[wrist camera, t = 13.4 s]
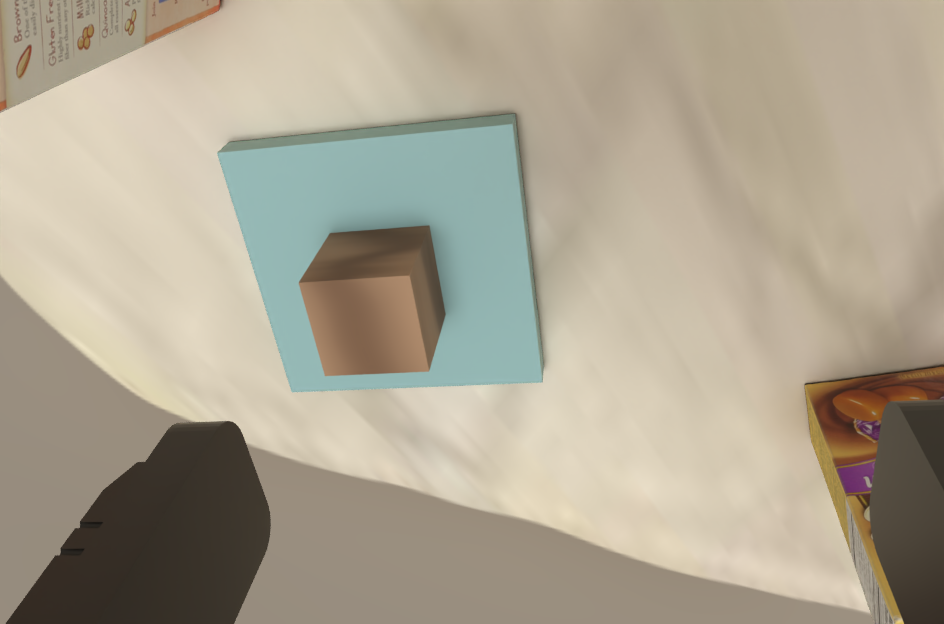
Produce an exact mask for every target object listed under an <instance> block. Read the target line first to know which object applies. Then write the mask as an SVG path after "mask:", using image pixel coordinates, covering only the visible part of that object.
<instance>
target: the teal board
mask: <svg viewBox="0 0 944 624" xmlns="http://www.w3.org/2000/svg"><path fill="white" fill-rule="evenodd" d="M217 154H218V157H219V161H220V164H221V167H222V170H223V173H224V177H225V180H226V183H227V186H228V189H229V193H230V196H231V199H232V202H233V205H234V209H235V212H236V215H237V218H238V221H239V225H240V228H241V231H242V234H243V237H244V241H245V244H246V247H247V250H248V253H249V257H250V260H251V263H252V266H253V269H254V273H255V276H256V279H257V282H258V285H259V289H260V292H261V295H262V298H263V301H264V305H265V308H266V311H267V314H268V317H269V321H270V324H271V327H272V330H273V333H274V337H275V340H276V343H277V346H278V349H279V353H280V356H281V359H282V362H283V365H284V369H285V372H286V375H287V378H288V381H289V385H290V388H291V391H292V392H311V391H337V390H362V389H387V388H412V387H438V386H463V385H488V384H513V383H539V382H543V370H544V363H543V354H542V346H541V337H540V328H539V319H538V310H537V302H536V293H535V284H534V275H533V267H532V258H531V249H530V240H529V231H528V223H527V214H526V205H525V196H524V187H523V179H522V170H521V161H520V152H519V144H518V135H517V126H516V117H515V114H506V115H496V116H486V117H476V118H466V119H456V120H446V121H436V122H426V123H416V124H406V125H396V126H386V127H376V128H366V129H356V130H346V131H336V132H326V133H316V134H306V135H296V136H286V137H276V138H266V139H256V140H246V141H236V142H229V143H228V144H227V145H225V146H224V147H223V148H222V149H221V150H220V151H219V152H218V153H217ZM427 225H430V231H431V236H432V242H433V247H434V253H435V258H436V264H437V269H438V275H439V280H440V286H441V291H442V297H443V302H444V308H445V313H446V316H445V319H444V322H443V326H442V329H441V333H440V336H439V340H438V343H437V346H436V350H435V353H434V357H433V360H432V364H431V367H430V370H429V372H410V373H387V374H364V375H341V376H325V375H324V371H323V368H322V364H321V361H320V357H319V353H318V350H317V346H316V343H315V339H314V336H313V332H312V329H311V325H310V322H309V318H308V315H307V311H306V308H305V304H304V301H303V297H302V294H301V290H300V287H299V281H300V280H301V278H302V276H303V275H304V273H305V272H306V270H307V268H308V267H309V265H310V264H311V262H312V261H313V259H314V257H315V256H316V254H317V253H318V251H319V249H320V248H321V246H322V245H323V243H324V242H325V240H326V238H327V237H328V235H329V234H330V233H337V232H349V231H362V230H375V229H388V228H401V227H414V226H427Z"/></svg>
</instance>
